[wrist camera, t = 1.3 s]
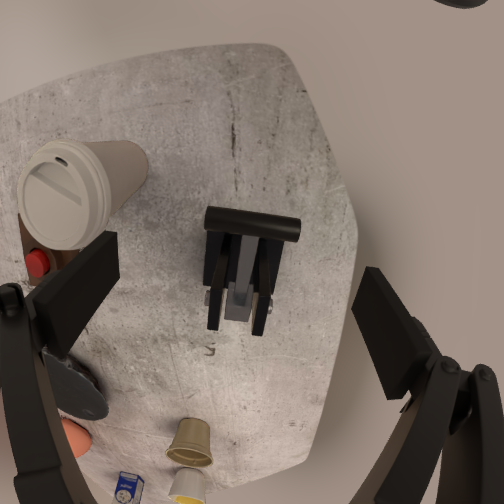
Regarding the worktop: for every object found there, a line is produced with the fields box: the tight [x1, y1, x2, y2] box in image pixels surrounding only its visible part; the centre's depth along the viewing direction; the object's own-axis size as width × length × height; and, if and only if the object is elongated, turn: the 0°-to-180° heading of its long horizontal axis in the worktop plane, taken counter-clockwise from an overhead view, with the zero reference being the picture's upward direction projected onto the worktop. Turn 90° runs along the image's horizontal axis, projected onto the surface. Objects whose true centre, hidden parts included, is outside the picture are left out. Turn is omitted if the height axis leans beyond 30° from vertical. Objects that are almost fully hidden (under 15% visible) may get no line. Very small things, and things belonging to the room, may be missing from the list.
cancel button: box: [25, 249, 50, 278], centre depth 33 cm, size 4×4×2 cm
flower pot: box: [165, 418, 214, 468], centre depth 50 cm, size 9×9×9 cm
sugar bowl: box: [61, 419, 92, 458], centre depth 56 cm, size 12×14×10 cm
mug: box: [168, 468, 206, 504], centre depth 62 cm, size 14×10×10 cm
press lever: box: [204, 206, 301, 322], centre depth 23 cm, size 12×6×2 cm, turn 172°
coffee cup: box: [17, 139, 148, 250], centre depth 26 cm, size 10×10×15 cm
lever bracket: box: [203, 230, 284, 336], centre depth 31 cm, size 10×9×13 cm
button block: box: [18, 213, 79, 287], centre depth 35 cm, size 12×10×4 cm
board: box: [42, 348, 109, 421], centre depth 47 cm, size 22×22×5 cm
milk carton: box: [112, 472, 144, 504], centre depth 64 cm, size 7×7×20 cm
